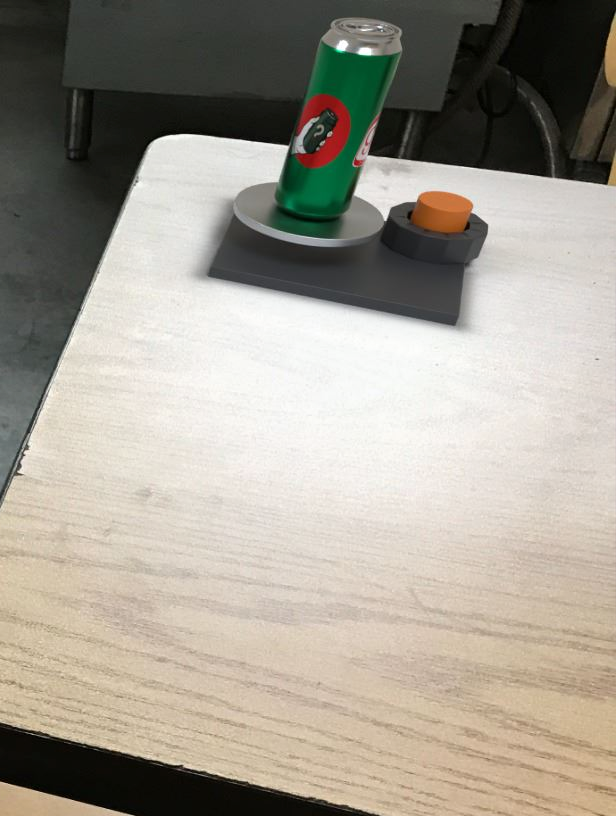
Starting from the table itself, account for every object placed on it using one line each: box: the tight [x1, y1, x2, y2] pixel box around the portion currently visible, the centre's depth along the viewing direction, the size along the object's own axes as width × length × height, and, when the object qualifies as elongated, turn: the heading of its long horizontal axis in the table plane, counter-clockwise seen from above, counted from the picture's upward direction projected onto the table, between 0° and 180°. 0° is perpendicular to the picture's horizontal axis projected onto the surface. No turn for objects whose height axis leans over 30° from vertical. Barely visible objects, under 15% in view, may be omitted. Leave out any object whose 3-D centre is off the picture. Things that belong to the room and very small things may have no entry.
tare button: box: [410, 190, 474, 233], centre depth 95 cm, size 4×4×2 cm
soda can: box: [274, 17, 403, 221], centre depth 91 cm, size 5×5×12 cm
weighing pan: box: [232, 181, 385, 247], centre depth 95 cm, size 10×10×1 cm
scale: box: [207, 201, 489, 327], centre depth 96 cm, size 17×14×4 cm
